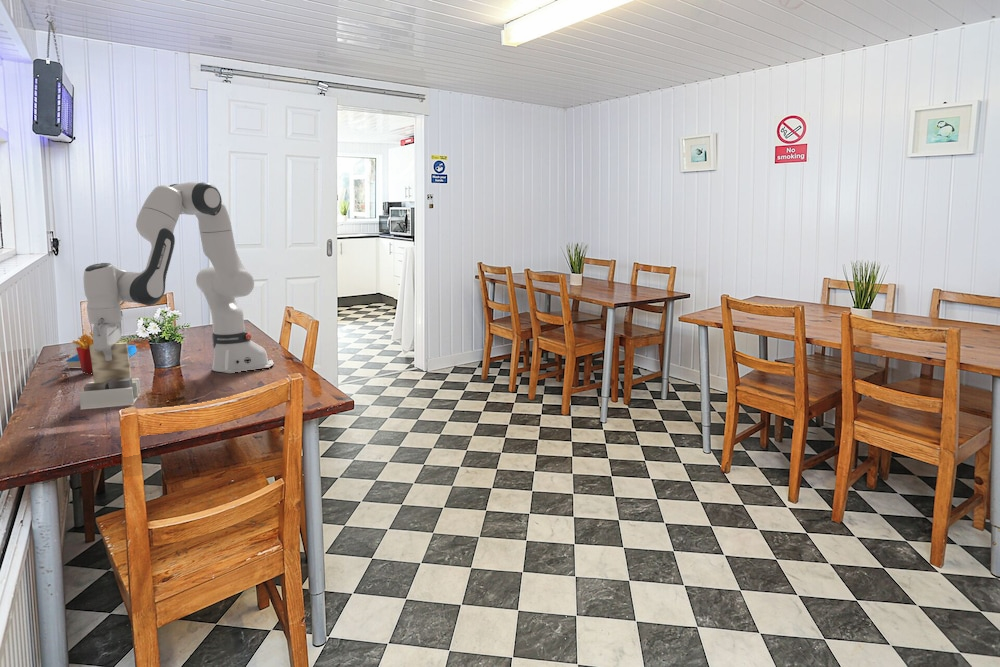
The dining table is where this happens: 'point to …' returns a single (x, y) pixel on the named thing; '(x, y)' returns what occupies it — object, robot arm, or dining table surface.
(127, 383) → the offcut tall
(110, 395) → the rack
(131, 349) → the book
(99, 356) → the birch board
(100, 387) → the offcut short
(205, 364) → the dining table surface
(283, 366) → the dining table surface
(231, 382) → the dining table surface
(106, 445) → the dining table surface
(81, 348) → the french fries
